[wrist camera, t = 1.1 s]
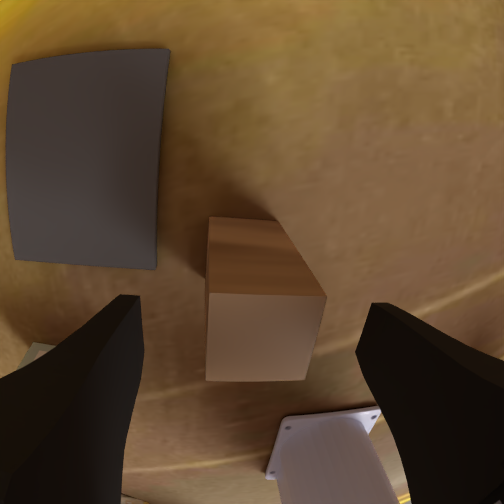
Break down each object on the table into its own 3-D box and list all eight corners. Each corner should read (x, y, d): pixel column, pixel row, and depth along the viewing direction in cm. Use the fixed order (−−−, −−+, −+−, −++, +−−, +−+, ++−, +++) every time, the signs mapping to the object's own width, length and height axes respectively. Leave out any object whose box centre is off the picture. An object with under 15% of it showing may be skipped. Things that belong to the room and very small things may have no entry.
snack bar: (150, 504, 25) (138, 516, 25) (148, 495, 26) (137, 507, 26) (67, 472, 22) (58, 485, 21) (69, 462, 23) (60, 476, 23)
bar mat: (156, 265, 15) (155, 269, 15) (19, 255, 14) (14, 259, 14) (170, 51, 12) (168, 48, 11) (17, 65, 10) (11, 64, 10)
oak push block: (269, 282, 16) (304, 380, 10) (205, 279, 16) (205, 381, 9) (278, 221, 15) (327, 296, 9) (209, 216, 15) (209, 292, 8)
